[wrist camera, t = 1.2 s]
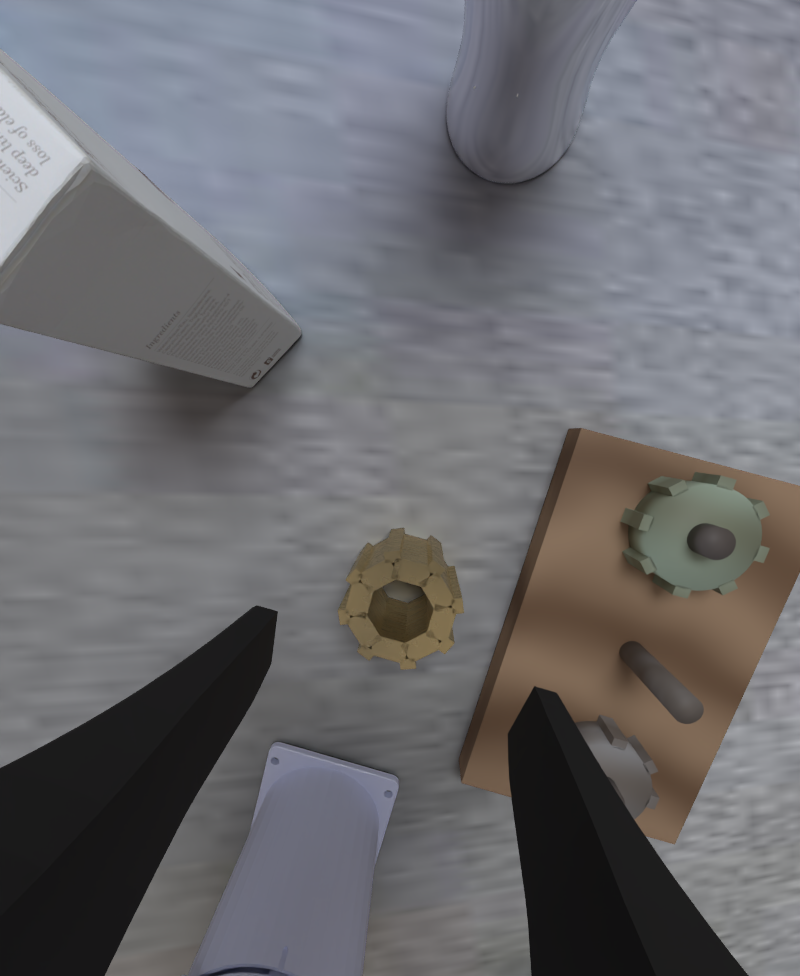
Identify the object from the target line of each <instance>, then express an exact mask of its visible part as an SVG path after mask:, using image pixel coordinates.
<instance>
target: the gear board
mask: <svg viewBox="0 0 800 976" xmlns="http://www.w3.org/2000/svg"><path fill="white" fill-rule="evenodd" d="M799 573H800V486H798V485H794V484H790V483H786V482H783V481H779V480H775V479H771V478H768V477H764V476H760V475H756V474H752V473H749V472H745V471H741V470H737V469H734V468H730V467H726V466H722V465H718V464H715V463H711V462H707V461H703V460H700V459H696V458H692V457H688V456H684V455H681V454H677V453H673V452H669V451H666V450H662V449H658V448H654V447H650V446H647V445H643V444H639V443H635V442H632V441H628V440H624V439H620V438H616V437H613V436H609V435H605V434H601V433H598V432H594V431H590V430H586V429H582V428H575V429H569V430H568V433H567V436H566V439H565V442H564V445H563V448H562V451H561V454H560V457H559V460H558V463H557V466H556V469H555V472H554V475H553V478H552V481H551V484H550V487H549V490H548V493H547V496H546V499H545V502H544V505H543V508H542V511H541V514H540V517H539V520H538V523H537V526H536V529H535V532H534V535H533V538H532V541H531V544H530V547H529V550H528V553H527V556H526V559H525V562H524V565H523V568H522V571H521V574H520V577H519V580H518V583H517V586H516V589H515V592H514V595H513V598H512V601H511V604H510V607H509V610H508V613H507V616H506V619H505V622H504V625H503V628H502V631H501V634H500V637H499V640H498V643H497V646H496V649H495V652H494V655H493V658H492V661H491V664H490V667H489V670H488V673H487V676H486V679H485V682H484V685H483V688H482V691H481V694H480V697H479V700H478V703H477V706H476V709H475V712H474V715H473V718H472V721H471V724H470V727H469V730H468V733H467V736H466V739H465V742H464V745H463V748H462V751H461V754H460V757H459V765H460V774H461V783H464V784H467V785H471V786H474V787H478V788H481V789H484V790H488V791H491V792H495V793H498V794H502V795H505V796H509V797H511V790H510V782H509V766H508V732H509V730H510V729H511V727H512V725H513V723H514V721H515V720H516V718H517V716H518V714H519V713H520V711H521V709H522V707H523V705H524V704H525V702H526V700H527V698H528V697H529V695H530V693H531V691H532V689H533V688H534V686H536V687H539V688H543V689H546V690H549V691H553V692H556V693H557V694H558V695H559V697H560V699H561V700H562V702H563V704H564V705H565V707H566V709H567V711H568V712H569V714H570V716H571V717H572V719H573V721H574V722H575V724H576V726H577V728H578V729H579V731H580V733H581V734H582V736H583V738H584V739H585V741H586V743H587V744H588V746H589V748H590V750H591V751H592V753H593V755H594V756H595V758H596V760H597V761H598V763H599V764H600V766H601V768H602V769H603V771H604V773H605V774H606V776H607V778H608V779H609V781H610V782H611V784H612V786H613V787H614V789H615V790H616V792H617V794H618V795H619V797H620V798H621V800H622V801H623V803H624V805H625V806H626V808H627V809H628V811H629V812H630V814H631V815H632V817H633V818H634V820H635V821H636V823H637V824H638V826H639V827H640V829H641V830H642V832H643V833H644V835H645V836H647V837H651V838H654V839H658V840H661V841H665V842H668V843H672V844H675V842H676V840H677V838H678V836H679V834H680V832H681V829H682V827H683V825H684V823H685V821H686V819H687V816H688V814H689V812H690V810H691V808H692V805H693V803H694V801H695V799H696V797H697V795H698V792H699V790H700V788H701V786H702V784H703V782H704V779H705V777H706V775H707V773H708V771H709V769H710V766H711V764H712V762H713V760H714V758H715V755H716V753H717V751H718V749H719V747H720V745H721V742H722V740H723V738H724V736H725V734H726V732H727V729H728V727H729V725H730V723H731V721H732V718H733V716H734V714H735V712H736V710H737V708H738V705H739V703H740V701H741V699H742V697H743V695H744V692H745V690H746V688H747V686H748V684H749V682H750V679H751V677H752V675H753V673H754V671H755V668H756V666H757V664H758V662H759V660H760V658H761V655H762V653H763V651H764V649H765V647H766V645H767V642H768V640H769V638H770V636H771V634H772V631H773V629H774V627H775V625H776V623H777V621H778V618H779V616H780V614H781V612H782V610H783V608H784V605H785V603H786V601H787V599H788V597H789V595H790V592H791V590H792V588H793V586H794V584H795V581H796V579H797V577H798V575H799Z"/></svg>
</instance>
